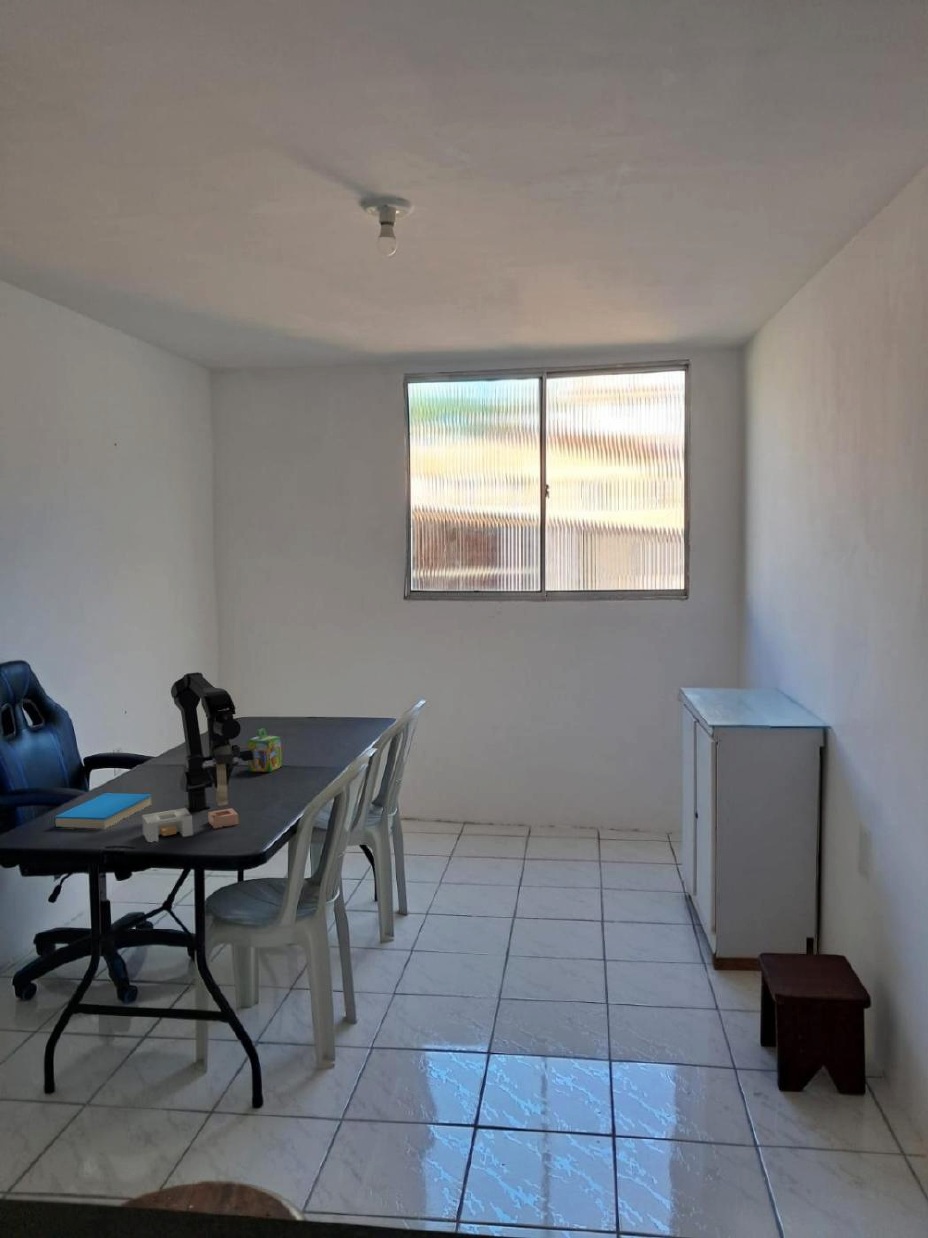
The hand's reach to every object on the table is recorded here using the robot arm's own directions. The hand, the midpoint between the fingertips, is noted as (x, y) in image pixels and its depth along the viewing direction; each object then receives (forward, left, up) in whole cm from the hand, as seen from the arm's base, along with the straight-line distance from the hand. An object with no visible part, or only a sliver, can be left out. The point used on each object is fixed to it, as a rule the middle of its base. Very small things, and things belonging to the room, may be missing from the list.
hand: (221, 787), depth 265 cm
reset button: (+3, -16, -10) cm, 19 cm away
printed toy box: (-58, +29, -11) cm, 66 cm away
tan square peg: (0, 0, -5) cm, 5 cm away
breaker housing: (+3, -16, -11) cm, 19 cm away
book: (-29, -29, -11) cm, 43 cm away
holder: (0, 0, -11) cm, 11 cm away
